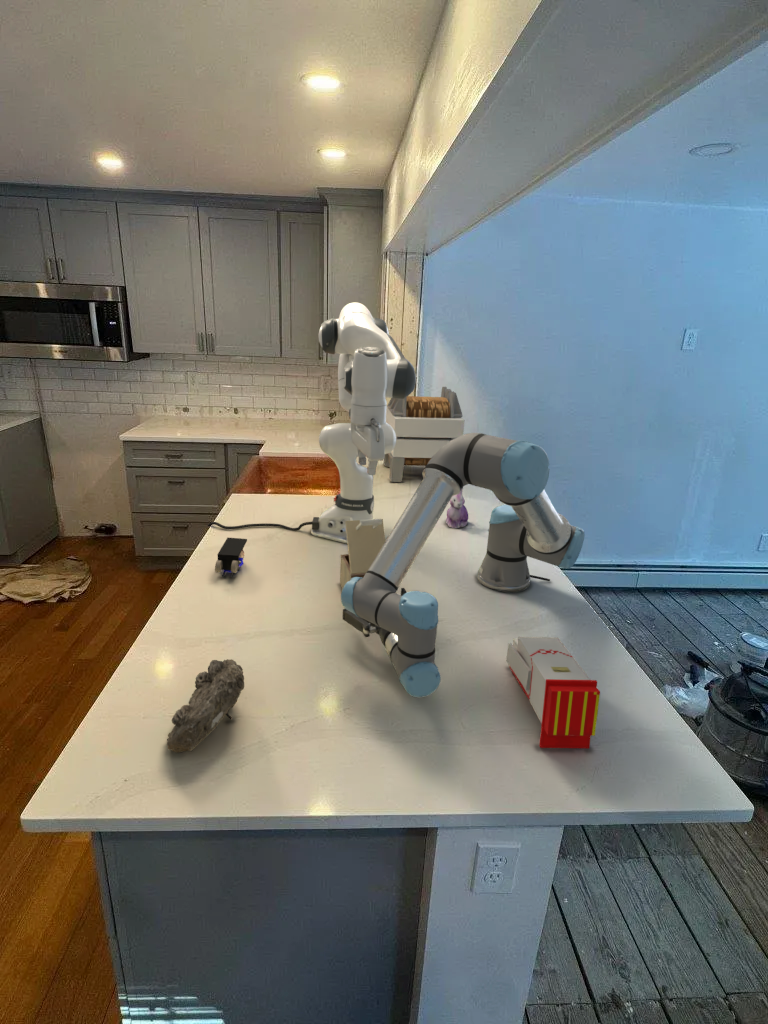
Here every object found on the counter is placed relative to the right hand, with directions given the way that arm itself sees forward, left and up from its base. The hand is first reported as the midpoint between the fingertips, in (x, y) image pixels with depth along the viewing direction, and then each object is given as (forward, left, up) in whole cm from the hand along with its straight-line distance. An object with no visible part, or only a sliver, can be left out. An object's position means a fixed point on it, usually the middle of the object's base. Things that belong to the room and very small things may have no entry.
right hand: (376, 595), depth 142 cm
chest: (0, -14, -7) cm, 16 cm away
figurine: (-47, -60, -7) cm, 77 cm away
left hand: (0, -15, +29) cm, 32 cm away
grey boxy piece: (-56, -128, -7) cm, 140 cm away
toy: (-26, +38, -7) cm, 46 cm away
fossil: (+40, +28, -7) cm, 49 cm away
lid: (0, -12, +8) cm, 14 cm away
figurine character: (+34, -36, -7) cm, 50 cm away
